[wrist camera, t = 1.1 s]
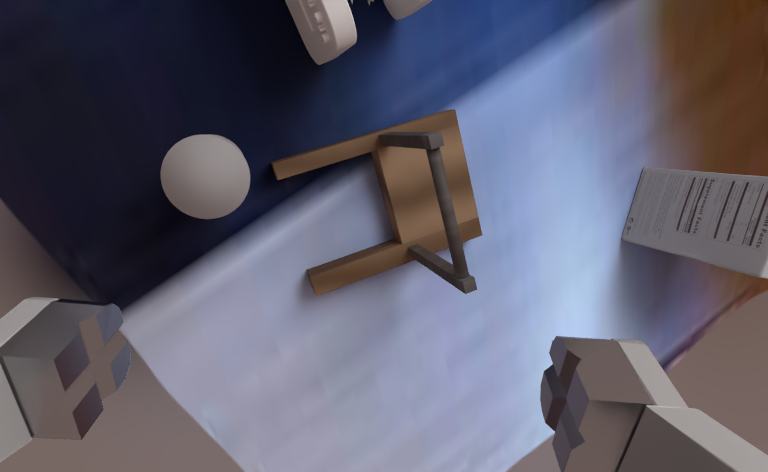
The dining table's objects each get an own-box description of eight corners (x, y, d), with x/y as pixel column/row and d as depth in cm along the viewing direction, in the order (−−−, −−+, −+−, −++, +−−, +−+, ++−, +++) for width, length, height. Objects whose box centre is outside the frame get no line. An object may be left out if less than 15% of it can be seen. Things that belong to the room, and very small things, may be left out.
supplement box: (698, 182, 60) (863, 199, 45) (676, 253, 62) (828, 294, 46) (641, 165, 57) (797, 177, 41) (618, 240, 58) (761, 279, 43)
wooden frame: (270, 162, 44) (287, 174, 31) (444, 110, 48) (526, 101, 35) (312, 288, 48) (343, 348, 35) (471, 230, 52) (555, 264, 39)
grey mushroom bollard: (167, 144, 42) (146, 148, 32) (233, 126, 43) (233, 124, 33) (191, 207, 43) (179, 229, 33) (255, 188, 45) (261, 204, 35)
